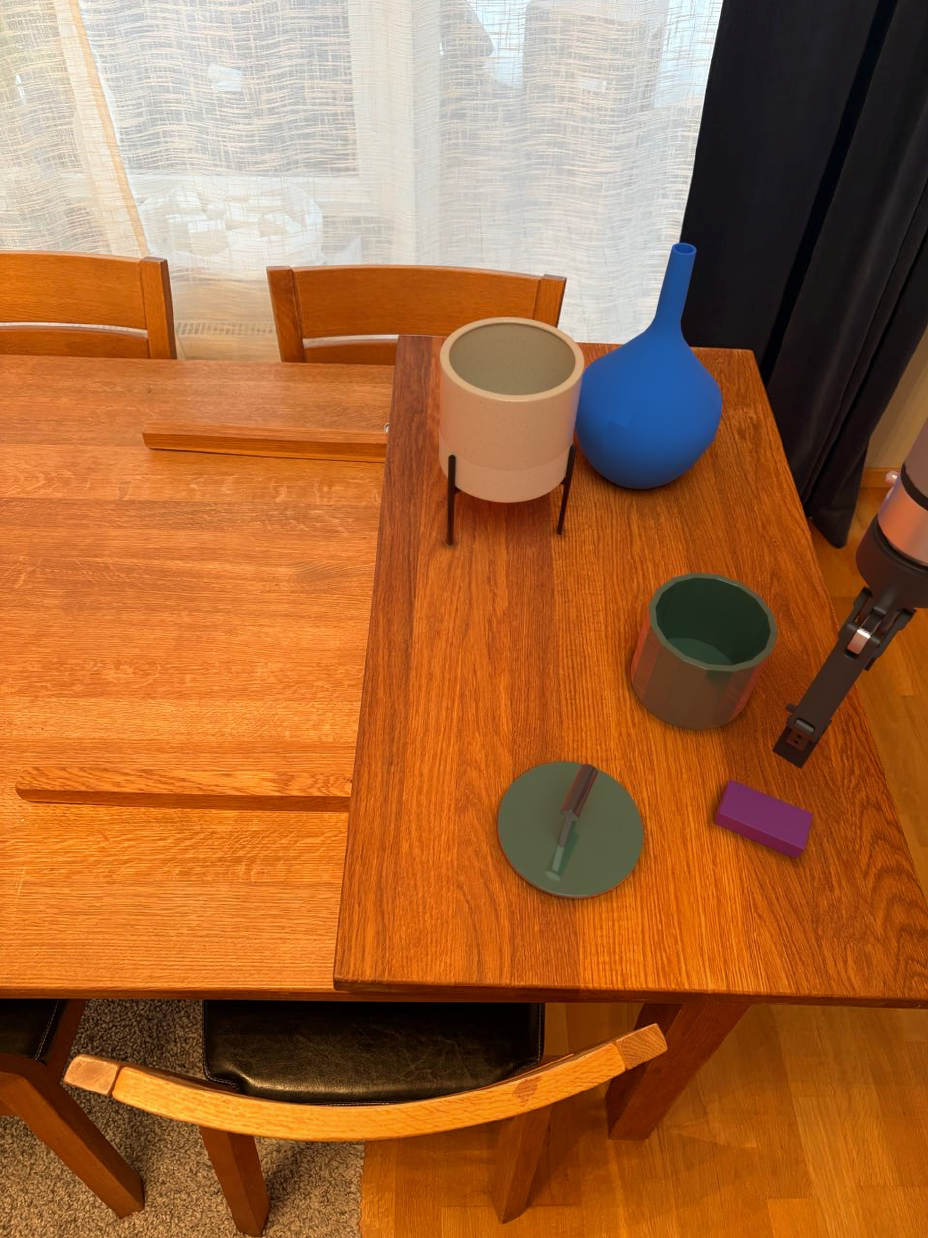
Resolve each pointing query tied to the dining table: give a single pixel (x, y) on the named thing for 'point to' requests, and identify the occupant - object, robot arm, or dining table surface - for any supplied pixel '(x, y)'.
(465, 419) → the planter
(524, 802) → the lid
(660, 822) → the dining table surface
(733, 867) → the dining table surface
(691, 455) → the vase
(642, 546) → the dining table surface
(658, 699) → the cylinder
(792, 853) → the purple rectangular block
